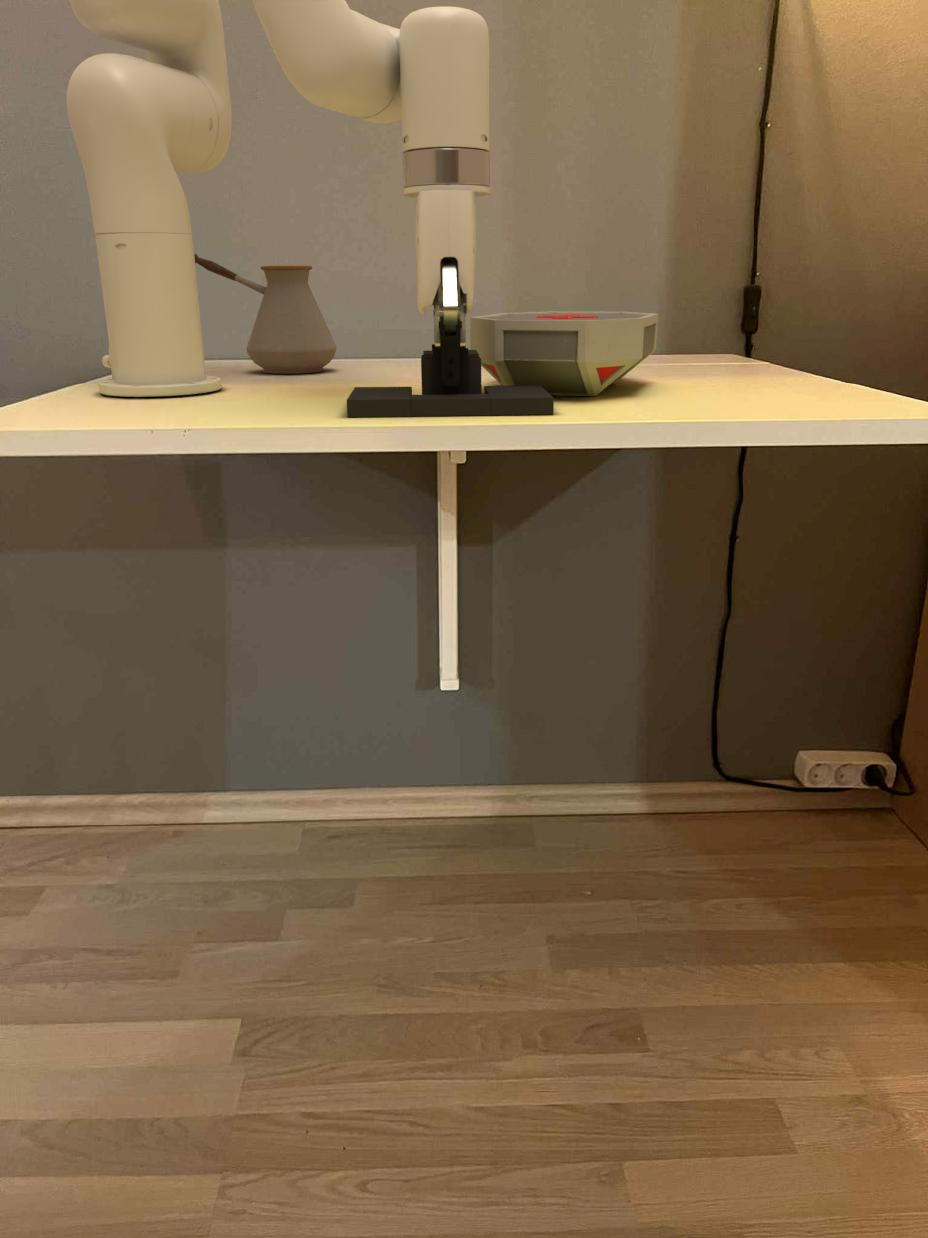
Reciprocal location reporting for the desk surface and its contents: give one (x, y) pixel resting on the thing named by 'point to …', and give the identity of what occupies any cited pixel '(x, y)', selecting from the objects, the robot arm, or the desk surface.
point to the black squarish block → (474, 372)
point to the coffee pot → (285, 321)
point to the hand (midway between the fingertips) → (450, 388)
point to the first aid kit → (563, 348)
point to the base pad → (449, 402)
